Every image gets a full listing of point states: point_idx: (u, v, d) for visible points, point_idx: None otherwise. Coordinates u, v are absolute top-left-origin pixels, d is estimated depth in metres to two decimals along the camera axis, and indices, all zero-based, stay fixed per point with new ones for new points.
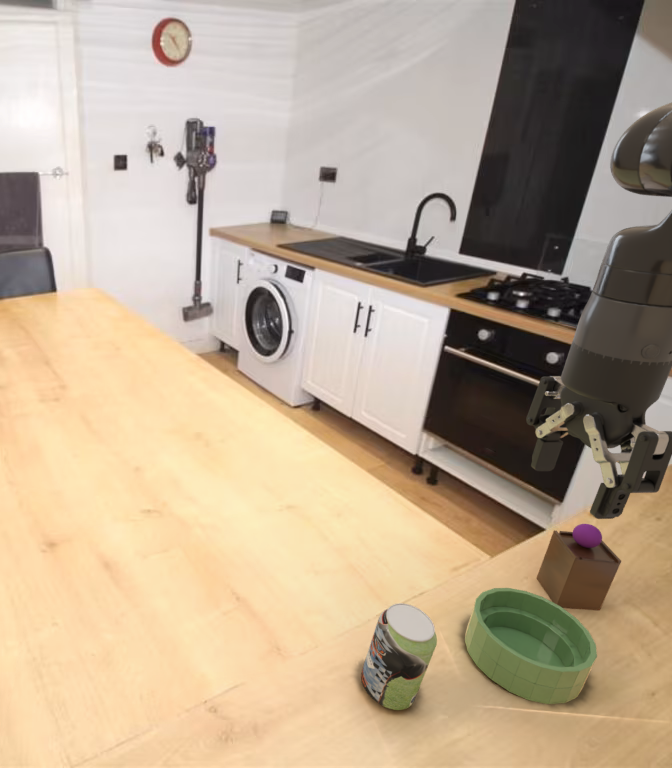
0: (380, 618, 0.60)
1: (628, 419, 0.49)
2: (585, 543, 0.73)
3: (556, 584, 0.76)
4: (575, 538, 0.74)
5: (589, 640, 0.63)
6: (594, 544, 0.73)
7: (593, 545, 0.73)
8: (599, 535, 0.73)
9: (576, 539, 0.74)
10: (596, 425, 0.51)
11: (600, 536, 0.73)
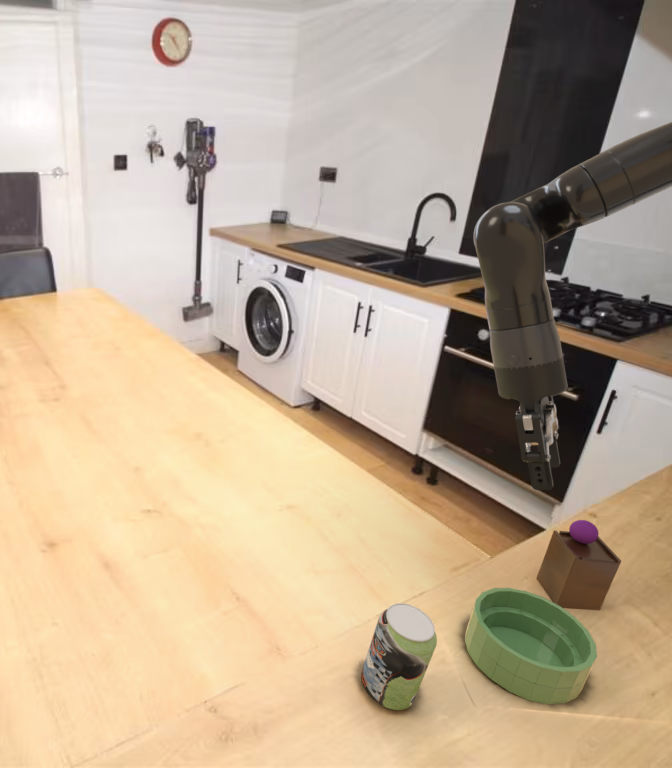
0: (380, 618, 0.60)
1: (522, 409, 0.68)
2: (583, 535, 0.74)
3: (556, 584, 0.76)
4: (573, 534, 0.75)
5: (589, 640, 0.63)
6: (592, 535, 0.73)
7: (591, 536, 0.73)
8: (594, 526, 0.74)
9: (574, 534, 0.75)
10: None
11: (595, 527, 0.74)
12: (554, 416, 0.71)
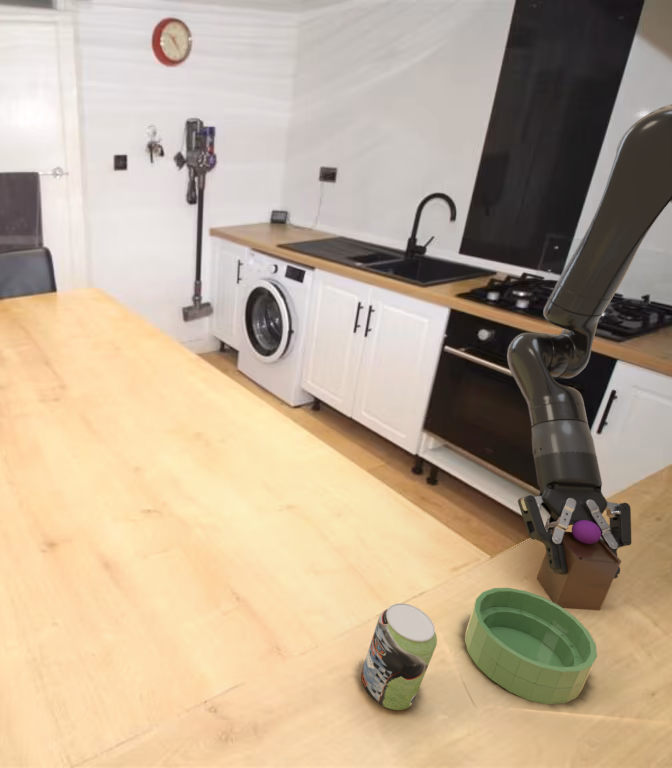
0: (380, 618, 0.60)
1: None
2: (586, 534, 0.74)
3: (555, 584, 0.76)
4: (576, 532, 0.75)
5: (589, 640, 0.63)
6: (595, 536, 0.73)
7: (594, 536, 0.73)
8: (598, 528, 0.74)
9: (577, 532, 0.74)
10: None
11: (599, 529, 0.74)
12: (589, 511, 0.75)
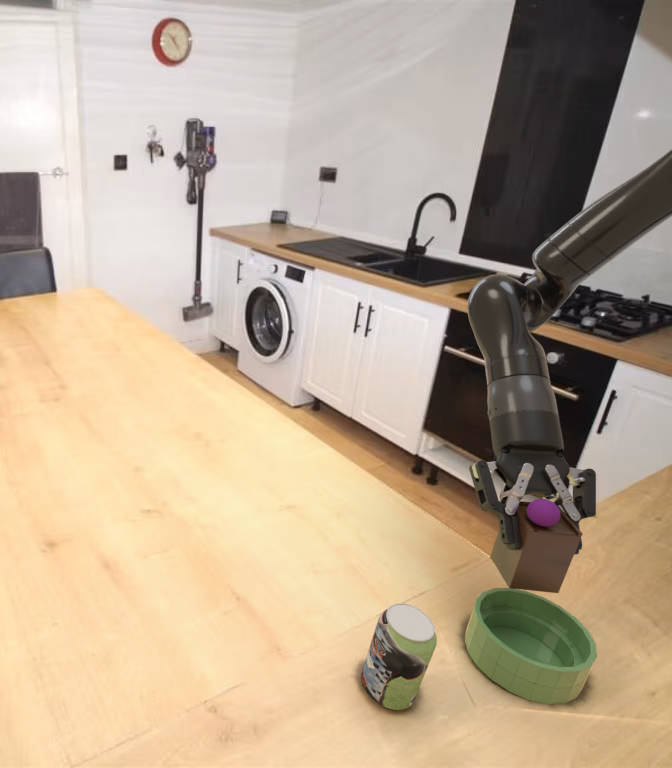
0: (380, 618, 0.60)
1: None
2: None
3: (509, 561, 0.66)
4: None
5: (589, 640, 0.63)
6: (539, 525, 0.63)
7: None
8: (545, 523, 0.62)
9: None
10: None
11: (547, 523, 0.62)
12: (549, 477, 0.65)
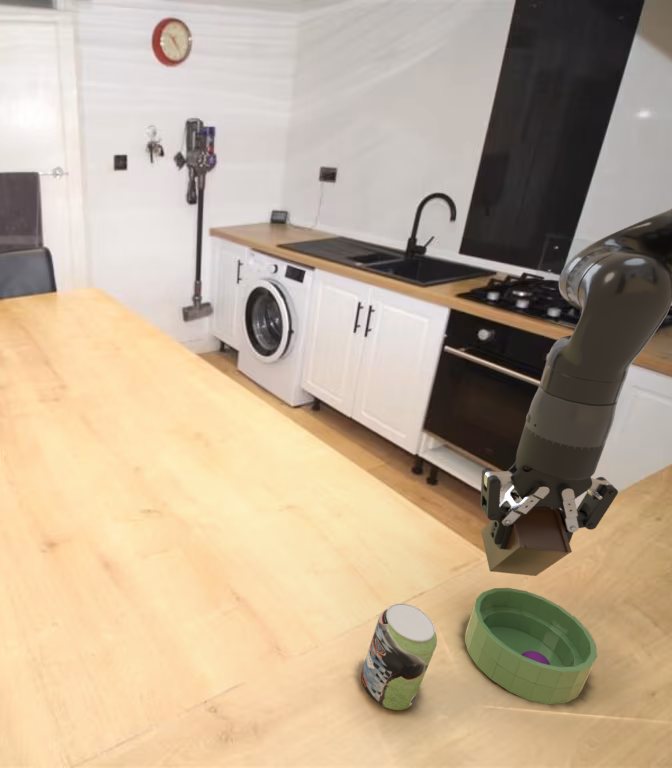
0: (380, 618, 0.60)
1: None
2: None
3: (495, 552, 0.69)
4: None
5: (589, 640, 0.63)
6: None
7: None
8: (546, 661, 0.63)
9: None
10: None
11: (546, 660, 0.64)
12: (562, 499, 0.62)
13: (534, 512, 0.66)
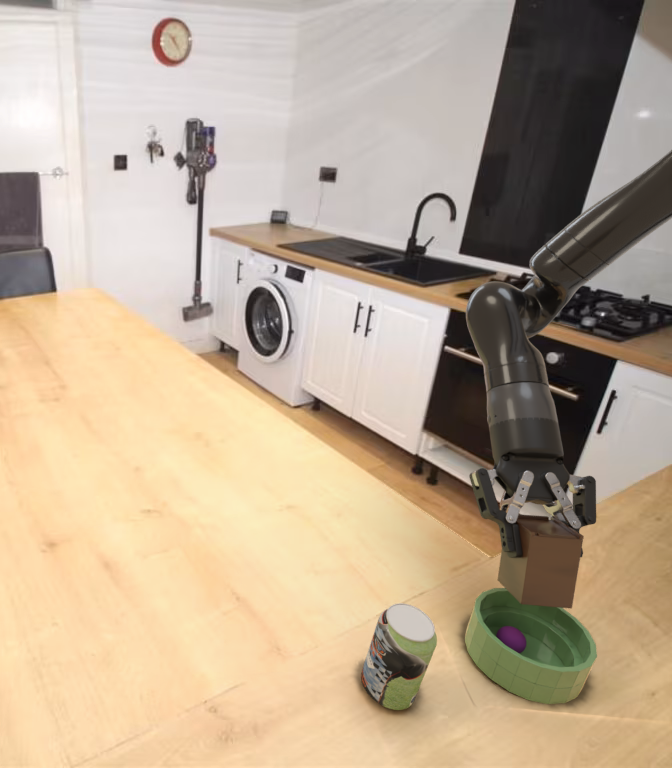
0: (380, 618, 0.60)
1: None
2: (513, 627, 0.68)
3: (517, 575, 0.64)
4: (511, 632, 0.67)
5: (589, 640, 0.63)
6: None
7: None
8: None
9: (511, 631, 0.67)
10: None
11: None
12: (549, 485, 0.65)
13: (534, 520, 0.66)
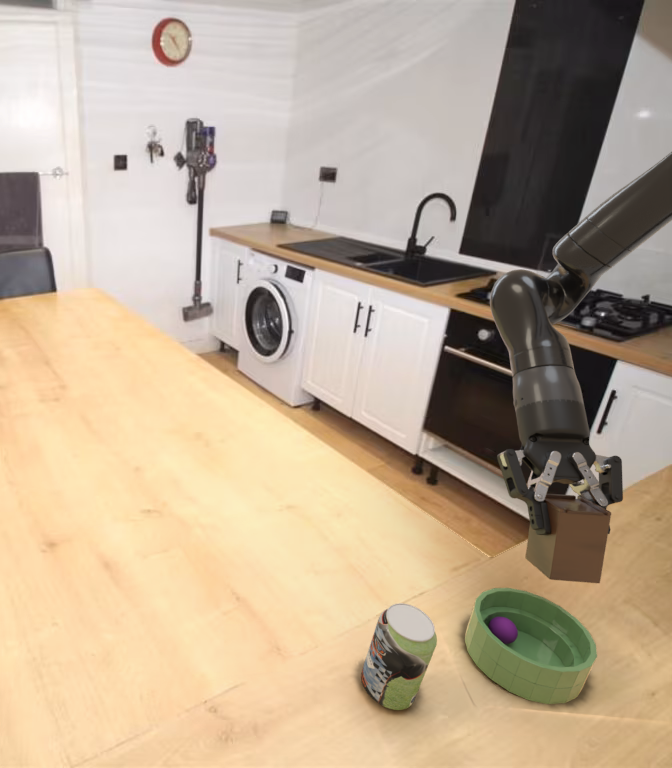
0: (380, 618, 0.60)
1: (520, 449, 0.71)
2: None
3: (545, 552, 0.66)
4: (495, 617, 0.70)
5: (589, 640, 0.63)
6: None
7: None
8: None
9: (495, 617, 0.70)
10: None
11: None
12: (576, 464, 0.67)
13: (561, 499, 0.68)
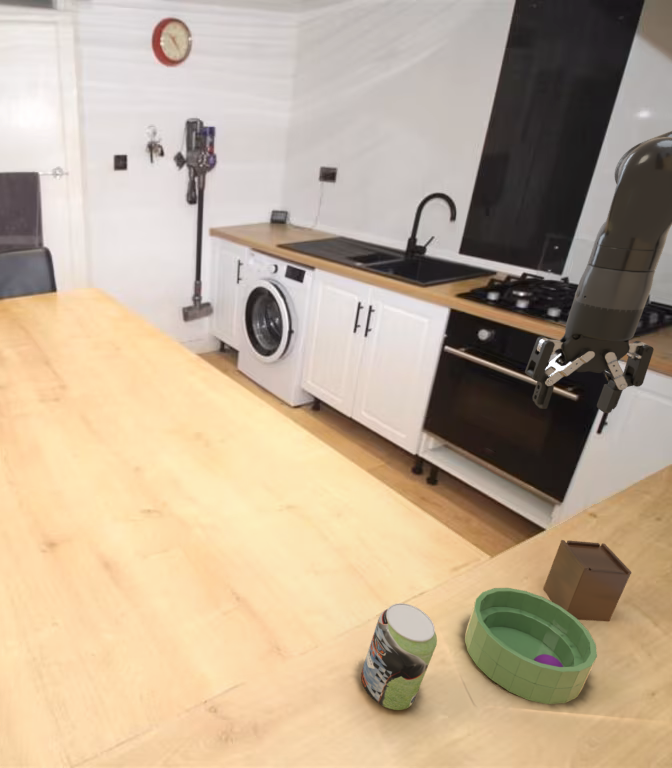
0: (380, 618, 0.60)
1: (562, 338, 0.76)
2: None
3: (563, 595, 0.74)
4: None
5: (589, 640, 0.63)
6: None
7: None
8: None
9: None
10: None
11: None
12: (606, 362, 0.74)
13: (586, 547, 0.74)
